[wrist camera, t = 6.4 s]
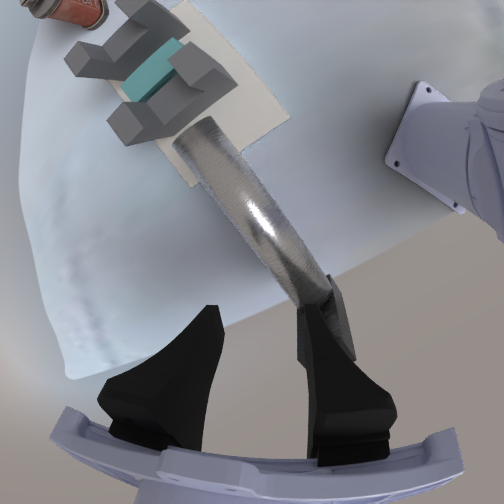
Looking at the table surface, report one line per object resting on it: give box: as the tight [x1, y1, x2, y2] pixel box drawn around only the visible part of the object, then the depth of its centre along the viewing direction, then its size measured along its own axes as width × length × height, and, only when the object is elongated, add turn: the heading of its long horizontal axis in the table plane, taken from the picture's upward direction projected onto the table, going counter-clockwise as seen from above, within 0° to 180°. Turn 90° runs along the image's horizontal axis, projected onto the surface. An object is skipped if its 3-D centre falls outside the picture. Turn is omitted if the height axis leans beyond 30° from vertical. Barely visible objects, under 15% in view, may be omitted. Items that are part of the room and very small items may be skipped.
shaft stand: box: [64, 0, 291, 188], centre depth 14 cm, size 13×9×8 cm
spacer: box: [120, 37, 184, 102], centre depth 14 cm, size 2×4×4 cm, turn 126°
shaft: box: [172, 116, 356, 369], centre depth 13 cm, size 14×2×6 cm, turn 36°
